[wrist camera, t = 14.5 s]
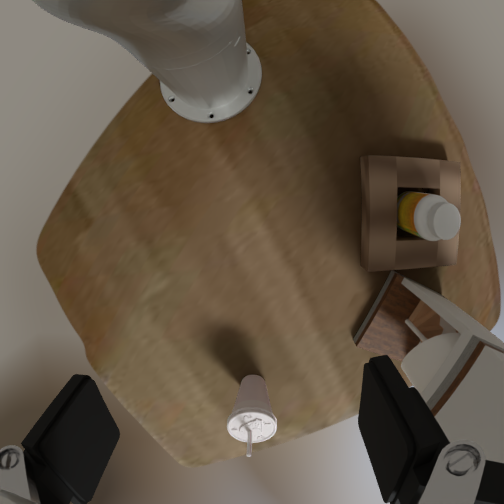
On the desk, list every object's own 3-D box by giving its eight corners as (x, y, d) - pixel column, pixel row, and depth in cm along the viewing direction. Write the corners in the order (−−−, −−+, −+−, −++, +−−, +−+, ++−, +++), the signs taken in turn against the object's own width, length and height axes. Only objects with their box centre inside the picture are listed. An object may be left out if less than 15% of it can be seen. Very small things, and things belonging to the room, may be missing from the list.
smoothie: (225, 390, 43) (215, 458, 30) (242, 361, 42) (236, 430, 28) (262, 403, 44) (263, 471, 30) (282, 376, 42) (289, 445, 29)
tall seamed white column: (391, 269, 38) (586, 448, 4) (441, 295, 39) (603, 437, 5) (352, 339, 41) (456, 562, 7) (405, 357, 42) (514, 531, 8)
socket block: (360, 156, 35) (368, 155, 32) (448, 162, 34) (460, 162, 31) (360, 265, 38) (368, 271, 35) (445, 259, 38) (456, 264, 35)
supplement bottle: (389, 230, 37) (426, 247, 28) (391, 189, 36) (429, 194, 26) (423, 231, 37) (463, 246, 27) (425, 192, 36) (467, 198, 26)
